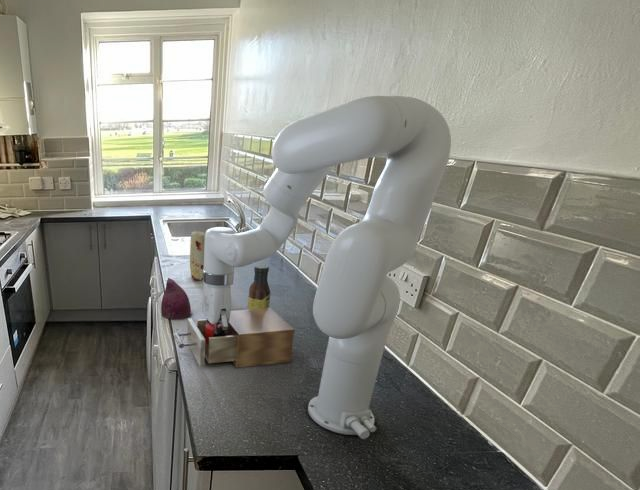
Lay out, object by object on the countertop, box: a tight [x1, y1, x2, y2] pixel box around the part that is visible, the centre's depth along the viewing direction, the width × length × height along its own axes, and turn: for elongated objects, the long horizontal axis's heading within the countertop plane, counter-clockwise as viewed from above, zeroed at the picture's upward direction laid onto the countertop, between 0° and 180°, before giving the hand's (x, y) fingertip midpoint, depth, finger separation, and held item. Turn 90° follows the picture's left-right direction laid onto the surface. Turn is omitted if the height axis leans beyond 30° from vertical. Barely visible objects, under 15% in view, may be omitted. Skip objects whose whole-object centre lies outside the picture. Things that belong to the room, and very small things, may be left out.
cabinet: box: [228, 306, 296, 368], centre depth 110 cm, size 15×15×10 cm
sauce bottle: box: [247, 264, 271, 309], centre depth 121 cm, size 6×6×20 cm
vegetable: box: [160, 277, 192, 320], centre depth 134 cm, size 10×10×15 cm
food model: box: [189, 230, 206, 281], centre depth 166 cm, size 10×7×20 cm
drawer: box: [172, 317, 238, 368], centre depth 109 cm, size 18×14×8 cm
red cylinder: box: [205, 322, 221, 345], centre depth 108 cm, size 5×5×6 cm
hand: (215, 340), depth 109 cm, fingers closed on red cylinder, 5 cm apart
